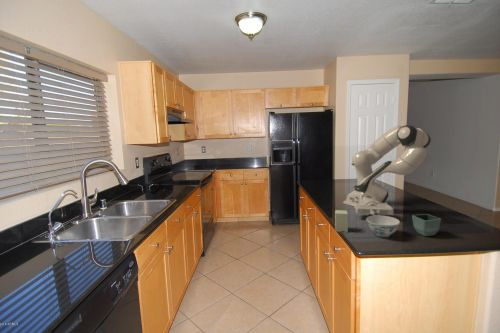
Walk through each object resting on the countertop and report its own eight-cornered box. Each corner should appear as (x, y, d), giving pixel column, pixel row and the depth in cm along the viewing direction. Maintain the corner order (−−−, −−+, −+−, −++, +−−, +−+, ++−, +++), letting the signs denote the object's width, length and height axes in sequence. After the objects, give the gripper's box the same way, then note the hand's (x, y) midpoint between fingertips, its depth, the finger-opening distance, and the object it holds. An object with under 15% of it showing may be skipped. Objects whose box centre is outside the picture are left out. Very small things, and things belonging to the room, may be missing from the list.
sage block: (335, 231, 136) (335, 213, 135) (335, 227, 142) (335, 210, 141) (347, 232, 135) (347, 213, 133) (346, 228, 140) (346, 210, 139)
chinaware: (359, 232, 133) (359, 218, 132) (380, 227, 139) (380, 213, 138) (385, 243, 119) (385, 227, 119) (406, 236, 125) (407, 221, 124)
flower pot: (410, 231, 131) (411, 214, 130) (426, 230, 132) (427, 213, 131) (423, 238, 123) (424, 220, 121) (440, 237, 123) (441, 219, 122)
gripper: (353, 201, 160) (356, 208, 147) (389, 202, 154) (396, 209, 141) (353, 211, 161) (356, 218, 147) (389, 212, 155) (395, 220, 142)
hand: (376, 214), depth 144 cm, fingers closed
